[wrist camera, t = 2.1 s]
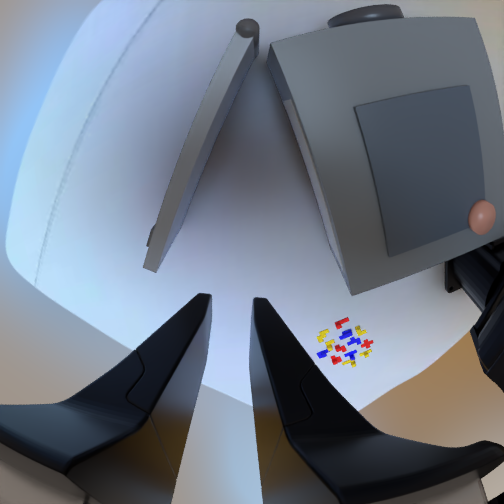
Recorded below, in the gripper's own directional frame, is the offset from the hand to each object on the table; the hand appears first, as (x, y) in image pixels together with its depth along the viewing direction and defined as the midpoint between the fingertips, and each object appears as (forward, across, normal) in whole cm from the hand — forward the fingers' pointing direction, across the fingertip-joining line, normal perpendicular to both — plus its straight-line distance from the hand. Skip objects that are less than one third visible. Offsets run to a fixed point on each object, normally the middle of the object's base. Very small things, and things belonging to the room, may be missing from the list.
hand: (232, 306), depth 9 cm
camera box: (+12, -9, -5) cm, 16 cm away
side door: (+12, +3, -4) cm, 13 cm away
